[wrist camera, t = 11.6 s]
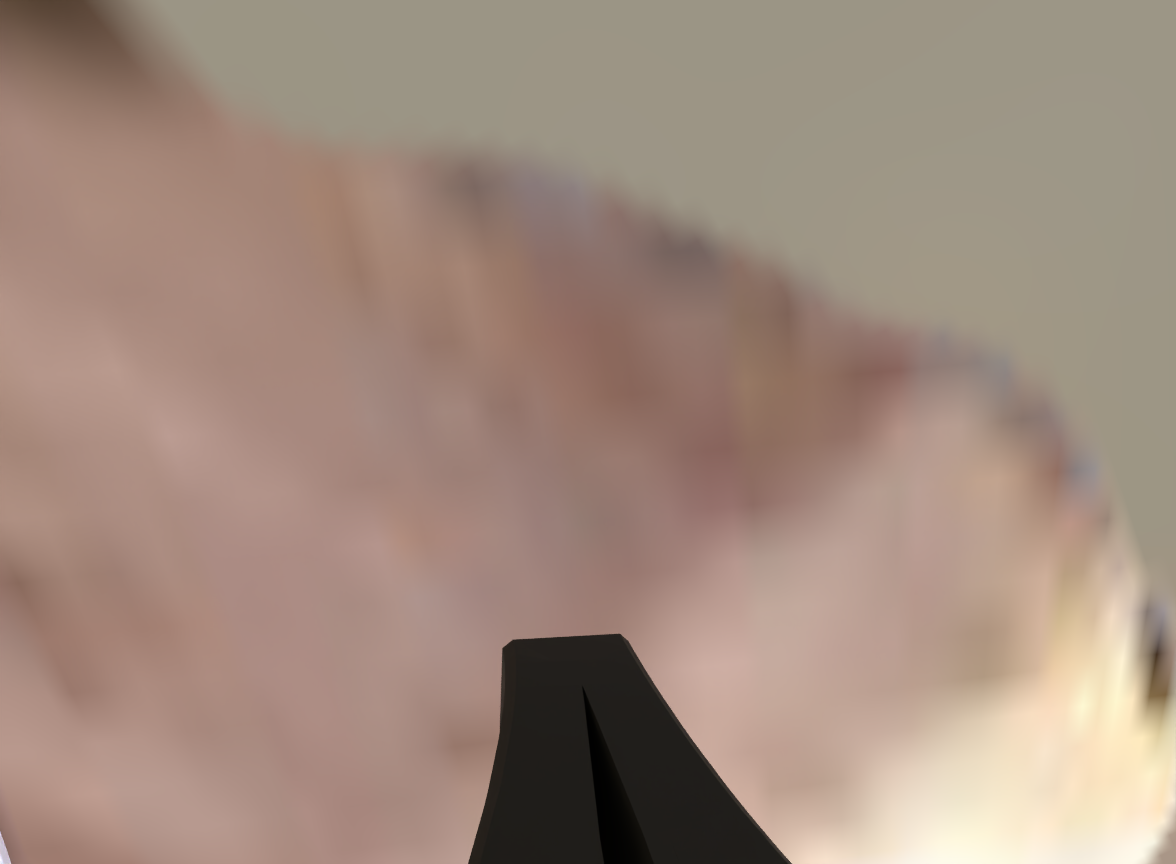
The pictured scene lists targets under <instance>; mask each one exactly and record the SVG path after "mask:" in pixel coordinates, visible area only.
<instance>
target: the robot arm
mask: <svg viewBox="0 0 1176 864" xmlns="http://www.w3.org/2000/svg"><path fill="white" fill-rule="evenodd" d="M0 864H11V861H10V858H9V855H8V853H7V850H6V847H5V844H4V841H3V838H2V835H1V832H0ZM468 864H791V862H790V861H789V860H788V859H787V858H786V857H785V856H784V855H783V853H782V852H781V851H780V850H779V849H778V848H777V847H776V845H775V844H774V843H773V842H772V841H771V839H770V838H769V837H768V836H767V835H766V834H765V832H764V831H763V830H762V829H761V828H760V826H759V825H758V824H757V823H756V822H755V820H754V819H753V818H752V817H751V816H750V815H749V813H748V812H747V811H746V810H745V808H744V807H743V806H742V805H741V803H740V802H739V801H738V800H737V798H736V797H735V796H734V795H733V793H732V792H731V791H730V790H729V788H728V787H727V786H726V784H725V783H724V782H723V780H722V779H721V778H720V776H719V775H718V774H717V772H716V771H715V770H714V768H713V767H712V766H711V764H710V763H709V762H708V760H707V759H706V758H705V756H704V755H703V754H702V752H701V751H700V750H699V748H698V747H697V746H696V745H695V743H694V742H693V740H692V739H691V737H690V736H689V735H688V733H687V732H686V730H685V729H684V728H683V726H682V725H681V723H680V722H679V720H678V719H677V717H676V716H675V715H674V713H673V712H672V710H671V709H670V707H669V706H668V704H667V703H666V701H665V700H664V698H663V697H662V695H661V694H660V692H659V691H658V689H657V688H656V686H655V684H654V683H653V681H652V680H651V678H650V677H649V675H648V673H647V672H646V670H645V669H644V667H643V665H642V664H641V662H640V660H639V659H638V657H637V655H636V654H635V652H634V650H633V648H632V647H631V645H630V643H629V641H628V640H626V639H625V638H624V637H623V636H622V635H621V634H607V635H589V636H571V637H553V638H535V639H517V640H512V641H511V642H510V643H508V644H507V645H506V646H505V647H503V649H502V681H501V712H500V734H499V740H498V745H497V750H496V755H495V760H494V765H493V770H492V774H491V779H490V784H489V789H488V793H487V798H486V802H485V806H484V809H483V813H482V817H481V820H480V824H479V827H478V831H477V834H476V838H475V841H474V845H473V848H472V852H471V856H470V859H469V863H468Z"/></svg>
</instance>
